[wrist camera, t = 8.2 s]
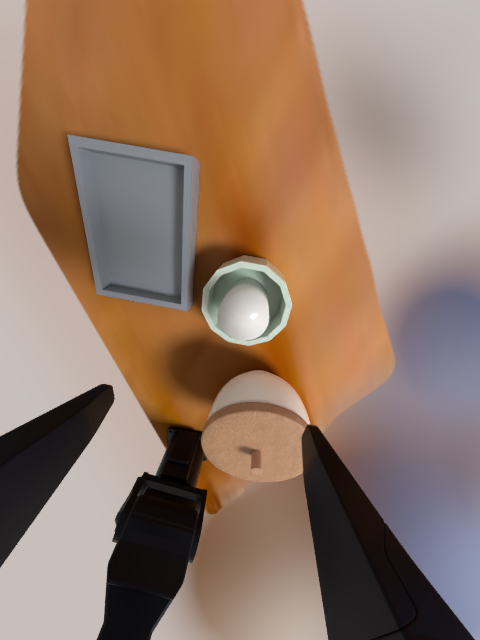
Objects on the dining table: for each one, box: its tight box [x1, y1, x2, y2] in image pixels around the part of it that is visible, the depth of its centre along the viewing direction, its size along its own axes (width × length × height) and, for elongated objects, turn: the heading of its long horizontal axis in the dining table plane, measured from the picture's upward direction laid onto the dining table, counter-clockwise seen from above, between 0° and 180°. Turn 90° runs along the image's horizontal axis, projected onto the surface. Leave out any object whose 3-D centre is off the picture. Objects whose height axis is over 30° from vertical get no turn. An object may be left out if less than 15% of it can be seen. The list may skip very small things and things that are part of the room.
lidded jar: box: [201, 370, 310, 482], centre depth 21 cm, size 11×11×9 cm
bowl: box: [202, 255, 292, 346], centre depth 19 cm, size 8×8×3 cm
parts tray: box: [67, 134, 200, 311], centre depth 17 cm, size 12×9×2 cm
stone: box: [217, 278, 269, 341], centre depth 17 cm, size 4×4×4 cm
